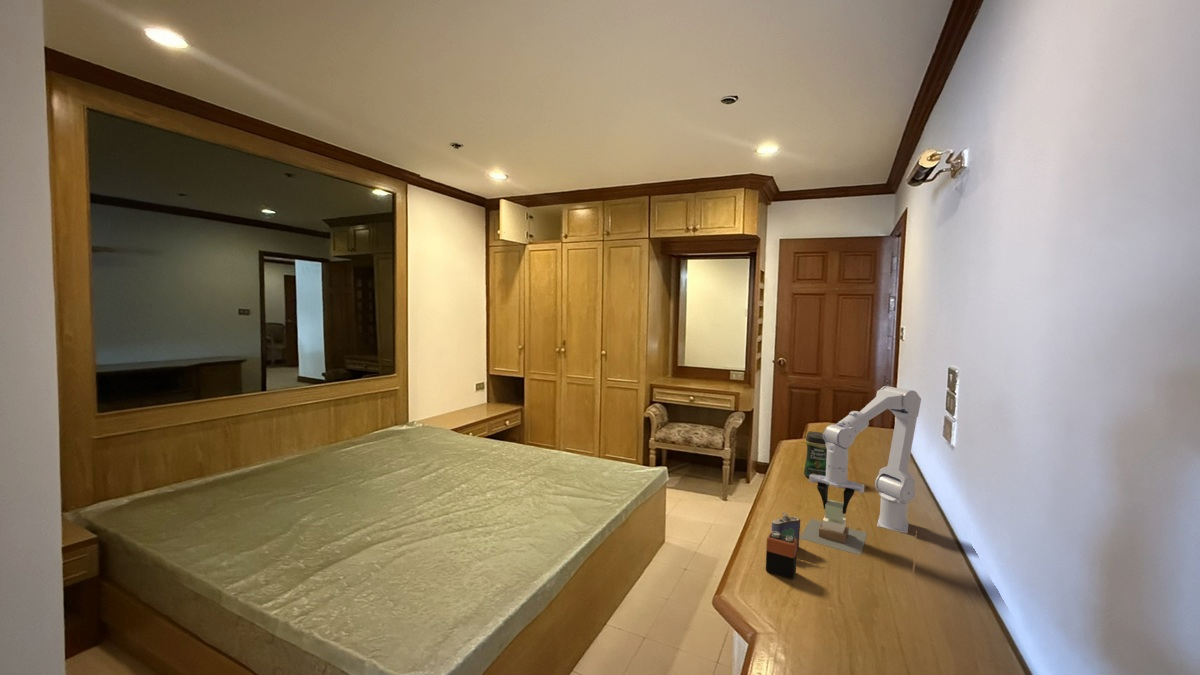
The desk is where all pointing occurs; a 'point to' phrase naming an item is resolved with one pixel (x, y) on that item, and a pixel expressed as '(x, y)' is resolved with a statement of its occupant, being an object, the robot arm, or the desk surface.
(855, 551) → the mat
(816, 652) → the desk surface
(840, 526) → the white slab
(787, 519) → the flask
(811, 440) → the coffee jar
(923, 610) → the desk surface
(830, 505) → the green block
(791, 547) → the battery
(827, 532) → the walnut slab
